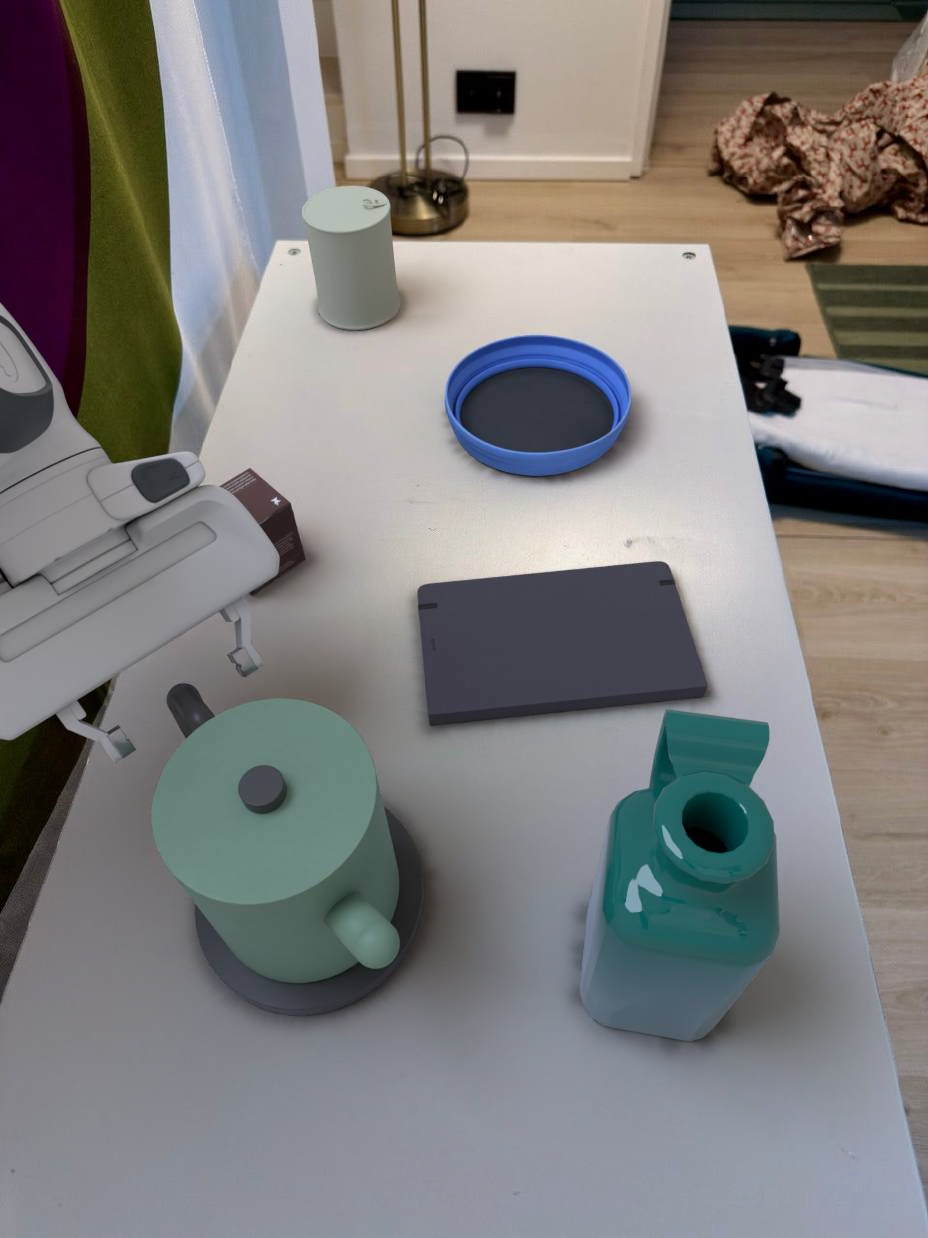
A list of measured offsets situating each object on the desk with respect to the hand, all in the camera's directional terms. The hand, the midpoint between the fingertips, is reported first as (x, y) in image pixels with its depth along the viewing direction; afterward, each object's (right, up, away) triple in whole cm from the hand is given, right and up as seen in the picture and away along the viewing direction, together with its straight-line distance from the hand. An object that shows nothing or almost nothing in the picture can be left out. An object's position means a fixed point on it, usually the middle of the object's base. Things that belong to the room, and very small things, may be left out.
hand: (191, 712), depth 58 cm
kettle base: (+7, -13, +3) cm, 15 cm away
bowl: (+25, +26, +31) cm, 48 cm away
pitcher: (+29, -16, 0) cm, 33 cm away
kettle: (+7, -12, +1) cm, 14 cm away
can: (+6, +41, +44) cm, 60 cm away
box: (0, +11, +21) cm, 24 cm away
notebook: (+25, +4, +15) cm, 29 cm away
